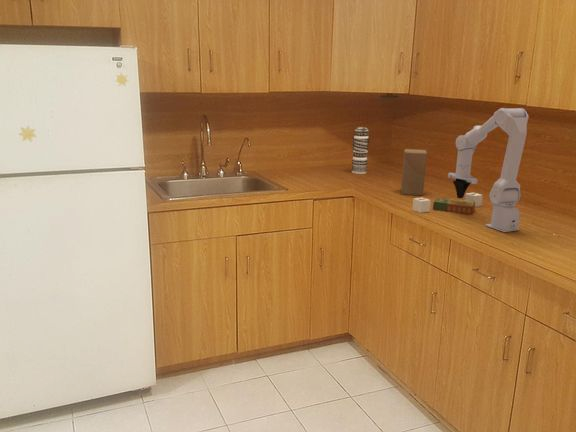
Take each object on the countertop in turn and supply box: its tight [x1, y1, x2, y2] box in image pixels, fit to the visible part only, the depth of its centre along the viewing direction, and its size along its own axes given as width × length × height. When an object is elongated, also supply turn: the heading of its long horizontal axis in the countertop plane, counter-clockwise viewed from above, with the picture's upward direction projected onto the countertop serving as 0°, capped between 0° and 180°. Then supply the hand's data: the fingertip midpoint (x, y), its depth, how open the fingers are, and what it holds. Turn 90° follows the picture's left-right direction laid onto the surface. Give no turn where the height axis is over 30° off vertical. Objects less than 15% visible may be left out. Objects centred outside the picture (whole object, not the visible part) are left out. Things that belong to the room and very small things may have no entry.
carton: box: [432, 196, 476, 215], centre depth 226 cm, size 8×16×4 cm, turn 66°
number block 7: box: [464, 192, 484, 208], centre depth 235 cm, size 5×5×5 cm
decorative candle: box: [351, 126, 370, 175], centre depth 299 cm, size 9×9×25 cm
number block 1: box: [412, 197, 432, 214], centre depth 223 cm, size 5×5×5 cm
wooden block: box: [400, 148, 428, 196], centre depth 253 cm, size 10×10×20 cm
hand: (460, 197), depth 223 cm, fingers closed
